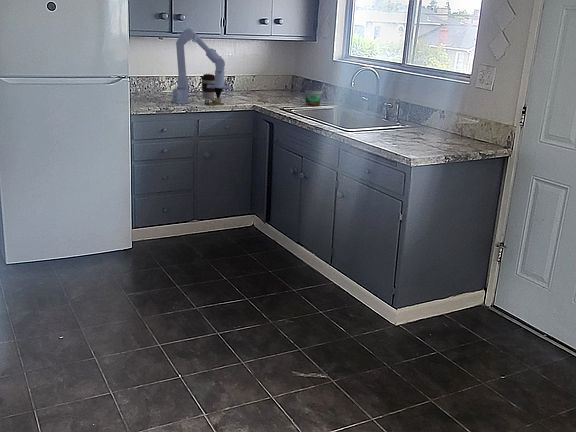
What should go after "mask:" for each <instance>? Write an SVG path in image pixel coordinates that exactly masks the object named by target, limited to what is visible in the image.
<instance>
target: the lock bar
mask: <svg viewBox="0 0 576 432" xmlns="http://www.w3.org/2000/svg"><path fill="white" fill-rule="evenodd" d="M211 102H217V103H222V98H220V97H219V98H217V97H214V98H212V99H211Z"/></svg>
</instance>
